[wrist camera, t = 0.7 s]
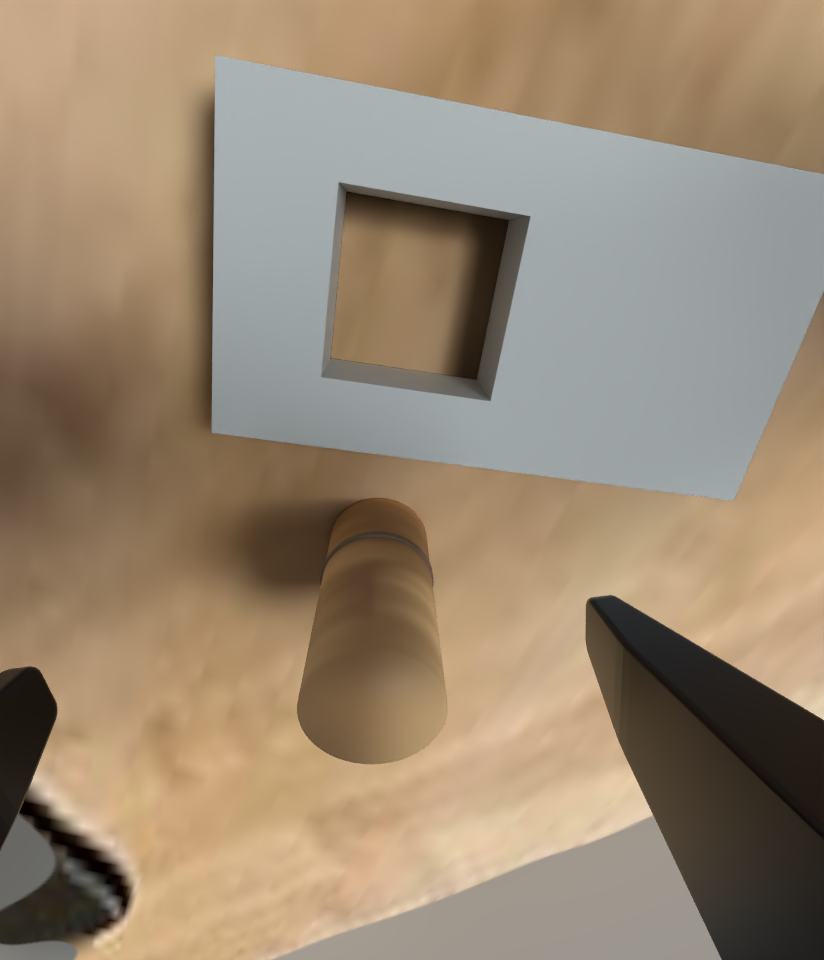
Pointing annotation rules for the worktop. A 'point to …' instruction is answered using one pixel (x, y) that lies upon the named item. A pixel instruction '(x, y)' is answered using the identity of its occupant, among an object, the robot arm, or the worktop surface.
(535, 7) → the worktop surface
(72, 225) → the worktop surface
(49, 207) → the worktop surface
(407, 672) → the peg
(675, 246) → the board
